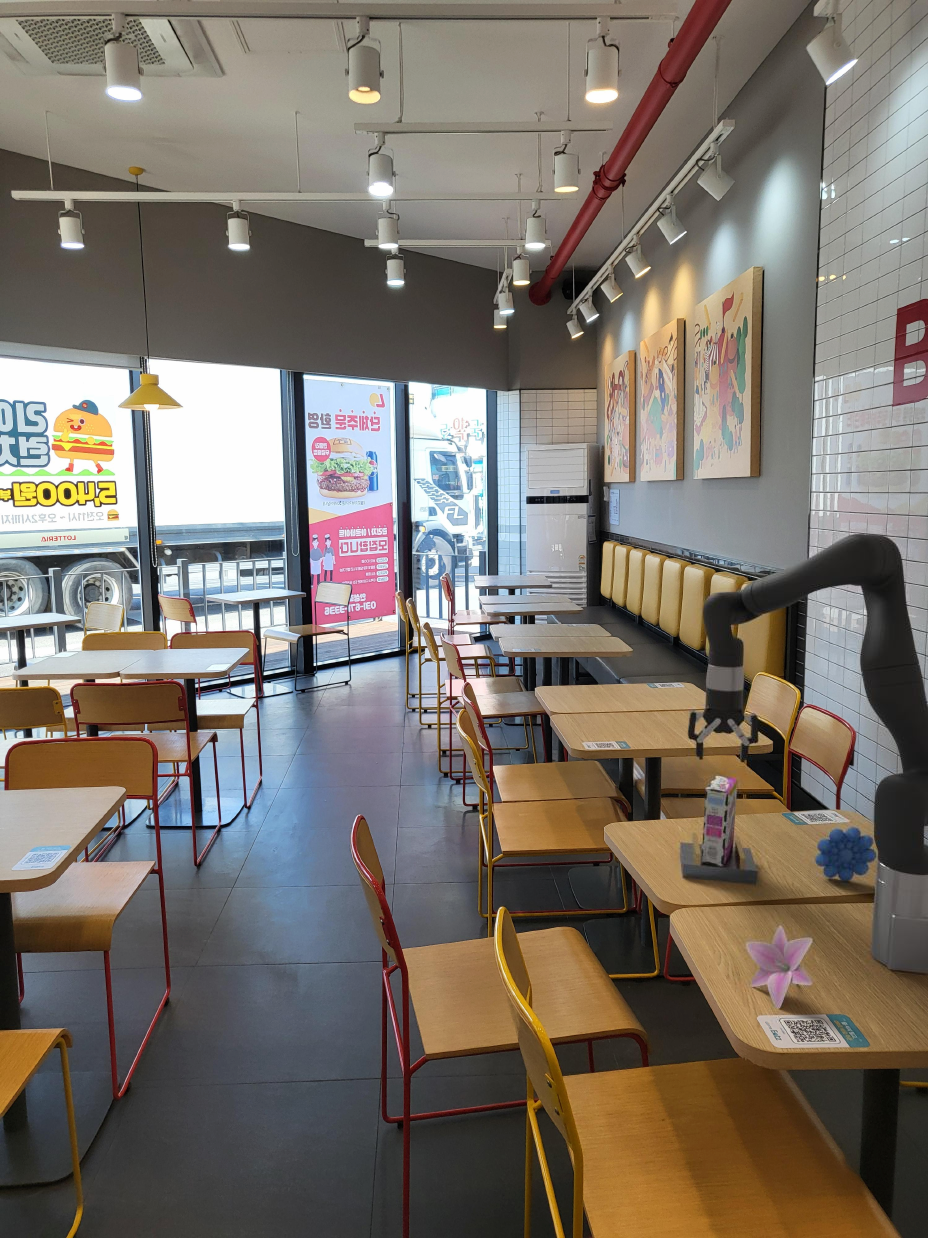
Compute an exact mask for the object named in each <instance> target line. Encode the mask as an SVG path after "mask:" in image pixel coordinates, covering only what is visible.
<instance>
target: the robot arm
mask: <svg viewBox="0 0 928 1238" xmlns="http://www.w3.org/2000/svg"><path fill="white" fill-rule="evenodd" d="M904 572H905V571H904V565H903V558H902V554H901V551H900V549H899V547H898V545H897V544H896V543H895V542H894V541H893V540H892V539H891V538H889V537H888V536H885V535H882V534H881V535H880V534H867V533H866V534H865V533H855V534H853V533H852V534H850V535H847V536H844V537H842V538H841V539H839V540H837V541H835V542H833V543H832V544H831V545H829V546H828V547H826V548H824V549H823V550H820V551H819V552H817V553H816V554H814V555H812V556H810V557H808V558H806V559H805V560H803V561H801V562H799V563H796V564H795V565H792V566H790V567H787V568H785V569H782V570H779V571H777V572H775V573H771V574H768V575H767V576H763V577H761V578H758V579H755V580H753V581H751V582H749V583H747V584H746V585H745V587H744V588H741V589H739V590H735V591H722V592H721V591H720V592H714V593H711V594H710V595H709V596H707V598H706V600H705V601H704V603H703V609H702V619H703V623H704V629H705V633H706V638H707V641H708V644H709V645H708V665H707V672H706V679H705V683H706V686H705V704H704V705H705V707H704V711H696V710H695V709H691V710H690V711H689V718H688V726H687V737H688V739H689V740H693V741H695V754H696V755H695V756H696V757H697V758H698V759H699V760H702V761H703V760H704V740H706V738H707V737H708V736H709V735H711V734H712V732H713V733H715V734H727V735H731V734H732V733H735V735H736V736H737V737H738V739H739V740H740V742H741V743H740V749H739V761H740V763H745V762H746V761H748V759H749V747H750V745H752V744H757V743H759V717H758V715H757V714H756V713H755V712H751V713H750V714H746V713H745V714H744V713H743V706H744V705H743V704H744V703H743V702H744V683H745V676H744V674H745V673H744V653H745V652H744V651H745V650H744V649H745V648H744V647H745V646H744V641H743V640H742V639H741V638H740V637H736V636H734V634H733V630H732V626H738V625H743V624H745V623H749V622H751V621H753V620H755V619H757V618H759V617H761V616H763V615H766V614H769V613H772V612H775V611H778V610H781V609H785V608H787V607H790V606H792V605H794V604H795V603H798V602H800V601H801V600H802V599H804V598H805V597H807V596H808V595H809V594H812V593H815V592H817V591H820V590H824V589H829V588H834V587H839V586H840V587H841V586H847V585H848V586H849V585H851V586H855V587H860V588H861V591H862V595H863V596H862V597H863V600H864V605H865V610H866V626H865V631H864V634H863V640H862V644H861V648H860V656H859V665H860V672H861V677H862V682H863V687H864V691H865V696H866V699H867V701H868V703H869V705H870V707H871V708H872V710H873V711H874V713H875V714H876V715H877V717H878V718H879V720H880V721H881V722H882V724H883V725H884V726H885V727H886V729H887V730H888V731H889V733H890V734H891V736H892V738H893V740H894V742H895V744H896V746H897V750H898V754H899V758H900V762H901V767H902V768H901V769H902V772H900V773H899V772H898V773H893V774H889V775H887V776H885V777H884V778H883V779H881V781H880V782H879V784H878V785H877V788H876V790H875V796H874V809H873V810H874V811H873V814H874V815H873V816H874V817H873V841H874V843H875V846H876V850H877V861H876V872H875V873H876V874H875V887H874V888H875V889H874V899H873V912H872V925H871V926H872V927H871V941H870V954H871V956H872V957H873V958H874V959H875V960H876V961H878V962H879V963H881V964H883V965H884V966H885V967H886V968H887V969H888V970H892V971H900V972H910V973H918V974H919V973H920V974H928V844H925V828H926V827H928V701H927V695H926V690H925V684H924V679H923V674H922V673H923V672H922V669H921V664H920V660H919V657H918V652H917V650H916V644H915V640H914V634H913V628H912V625H911V621H910V619H911V618H910V615H909V610H908V603H907V596H906V595H907V594H906V587H905V585H906V583H905V574H904ZM701 718H703V720H704V721H705V723H706V724H704V726H703V727H702V728H701V730H700V731H699V733H696V723H698V722H700V720H701ZM744 721H746V723H747V724H748V725H750V736H746V735H745V734H744V732H743V731H742V729H741V728H740V726H741V724H743V722H744Z"/></svg>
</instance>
